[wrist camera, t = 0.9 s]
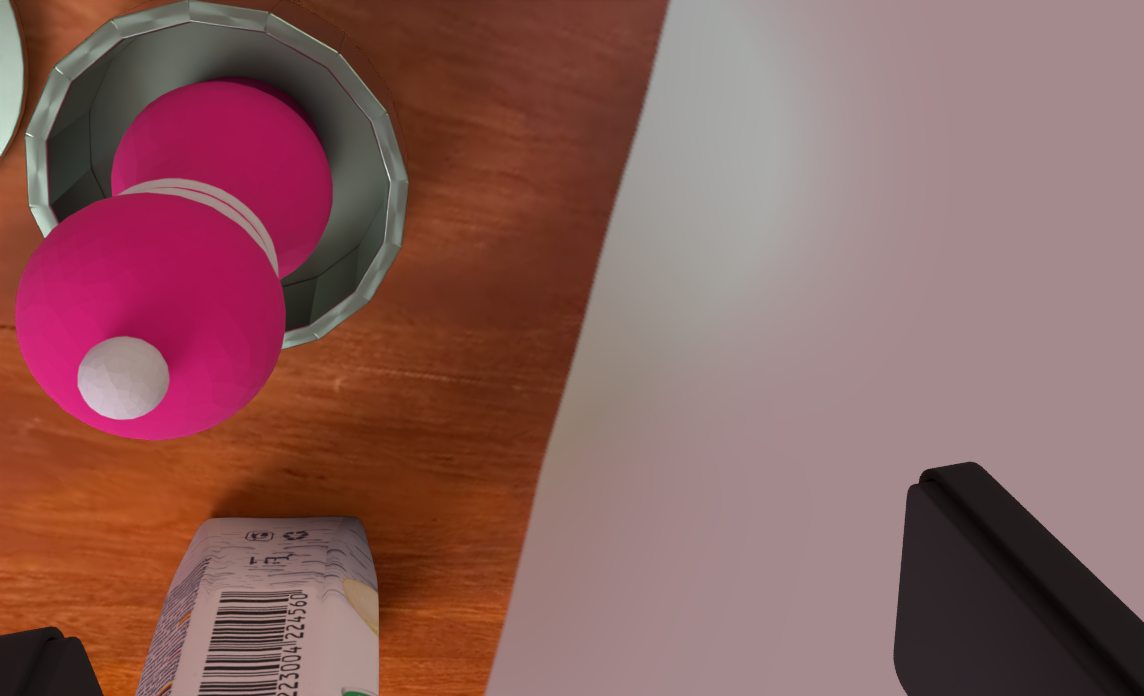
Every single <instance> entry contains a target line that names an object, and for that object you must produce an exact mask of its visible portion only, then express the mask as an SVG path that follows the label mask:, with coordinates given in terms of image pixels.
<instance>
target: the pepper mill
mask: <svg viewBox="0 0 1144 696" xmlns="http://www.w3.org/2000/svg"><path fill="white" fill-rule="evenodd" d="M111 183H112V197H110V198H107V199H103V200H100V201H96V202H94V203H92V204H90V205H89V206H87V207H85V208H83V209H81V210H79V211H78V212H76V213H74V214H72V215H70V216H68V217H67V218H66V219H65V220H63V221H62V222H61V223H60V224H58V225H57V226H56V227H55V228H53V229H52V230H51V232H50V233H49V234H48V235H47V237H46V238H45V239H44V240H43V242H42V243H41V244H40V245H39V247H38V248H37V249H36V250H35V252H34V253H33V254H32V256H31V258H30V260H29V262H28V264H27V266H26V268H25V270H24V272H23V274H22V277H21V281H20V285H19V288H18V292H17V295H16V306H15V323H16V330H17V338H18V343H19V346H20V349H21V352H22V356H23V358H24V360H25V361H26V363H27V365H28V367H29V369H30V371H31V373H32V375H33V377H34V378H35V379H36V380H37V382H38V383H39V384H40V385H41V387H42V388H43V389H44V391H45V392H46V393H47V394H48V395H49V396H50V397H51V398H52V399H53V400H54V401H55V402H56V403H57V404H58V405H59V406H60V407H62V408H63V409H64V410H65V411H66V412H68V413H69V414H71V415H73V416H74V417H76V418H77V419H79V420H80V421H82V422H83V423H85V424H88V425H90V426H92V427H94V428H97V429H99V430H101V431H104V432H106V433H110V434H114V435H118V436H122V437H125V438H134V439H144V440H167V439H173V438H179V437H184V436H189V435H192V434H195V433H198V432H201V431H204V430H207V429H210V428H212V427H213V426H215V425H217V424H219V423H221V422H222V421H224V420H226V419H228V418H230V417H231V416H233V415H234V414H235V413H237V412H238V411H239V410H240V409H242V408H243V407H244V406H245V405H246V404H247V403H248V402H249V401H251V400H252V399H253V398H254V397H255V395H256V394H257V393H258V392H259V391H260V389H261V388H262V387H263V386H264V384H265V383H266V381H267V379H268V378H269V376H270V375H271V373H272V371H273V369H274V367H275V364H276V362H277V359H278V357H279V354H280V351H281V349H282V345H283V339H284V334H285V318H286V309H285V303H284V296H283V290H282V284H281V282H280V280H281V279H282V278H284V277H285V276H287V275H289V274H290V273H292V272H293V271H295V270H296V269H297V268H298V267H299V266H300V265H302V264H303V263H304V262H305V261H306V260H307V259H308V257H309V256H310V255H311V254H312V252H313V251H314V250H315V248H316V246H317V244H318V243H319V241H320V239H321V237H322V235H323V233H324V231H325V228H326V226H327V224H328V221H329V217H330V213H331V208H332V204H333V181H332V176H331V170H330V166H329V163H328V160H327V157H326V155H325V152H324V148H323V144H322V140H321V137H320V135H319V133H318V130H317V128H316V126H315V124H314V123H313V121H312V119H311V118H310V116H309V115H308V114H307V112H306V111H305V110H304V109H303V108H302V107H301V106H300V105H299V104H298V103H297V102H296V101H295V100H294V99H293V98H291V97H290V96H289V95H288V94H286V93H285V92H283V91H281V90H280V89H278V88H276V87H274V86H272V85H270V84H268V83H265V82H262V81H259V80H256V79H251V78H246V77H221V78H215V79H211V80H208V81H205V82H202V83H194V84H190V85H186V86H182V87H179V88H176V89H174V90H172V91H170V92H167V93H165V94H163V95H161V96H160V97H158V98H157V99H155V100H154V101H152V102H151V103H150V104H148V105H147V106H146V107H145V108H144V109H143V110H142V111H141V112H140V113H139V114H138V115H137V116H136V118H135V119H134V121H133V122H132V124H131V125H130V126H129V128H128V129H127V131H126V133H125V134H124V136H123V137H122V140H121V142H120V144H119V146H118V149H117V151H116V153H115V156H114V162H113V168H112V173H111Z"/></svg>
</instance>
